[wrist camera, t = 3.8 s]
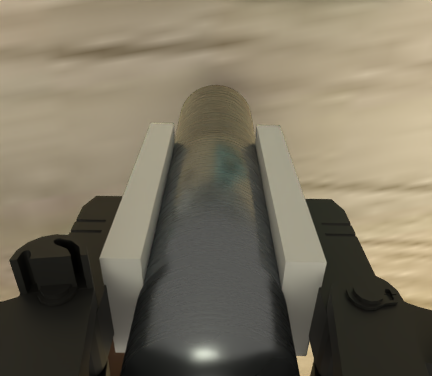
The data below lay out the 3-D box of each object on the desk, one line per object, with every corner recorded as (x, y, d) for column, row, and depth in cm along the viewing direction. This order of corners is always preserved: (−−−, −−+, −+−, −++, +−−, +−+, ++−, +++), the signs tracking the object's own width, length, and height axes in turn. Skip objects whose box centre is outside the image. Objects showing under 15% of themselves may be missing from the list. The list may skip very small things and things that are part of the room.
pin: (180, 151, 18) (127, 439, 7) (179, 84, 16) (107, 330, 6) (249, 152, 18) (289, 442, 7) (253, 86, 16) (314, 335, 6)
